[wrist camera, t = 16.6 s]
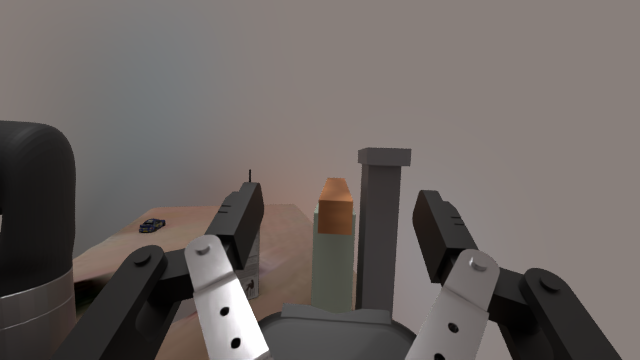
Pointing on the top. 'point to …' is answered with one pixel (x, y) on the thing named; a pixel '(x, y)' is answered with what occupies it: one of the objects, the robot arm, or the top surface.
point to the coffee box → (251, 271)
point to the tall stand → (378, 226)
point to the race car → (151, 225)
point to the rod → (335, 208)
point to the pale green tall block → (332, 269)
